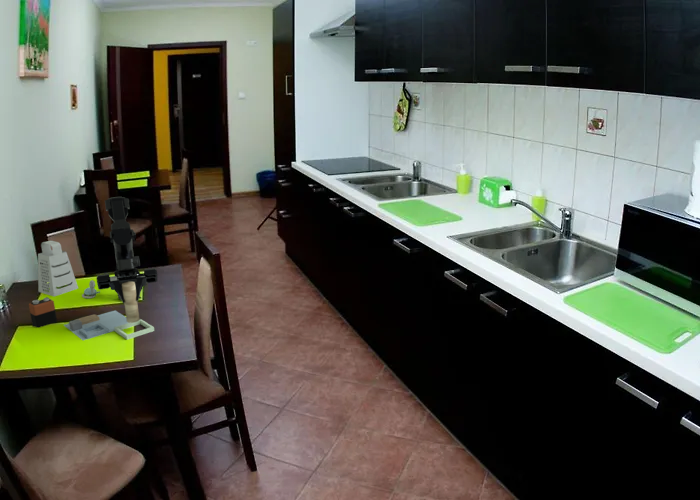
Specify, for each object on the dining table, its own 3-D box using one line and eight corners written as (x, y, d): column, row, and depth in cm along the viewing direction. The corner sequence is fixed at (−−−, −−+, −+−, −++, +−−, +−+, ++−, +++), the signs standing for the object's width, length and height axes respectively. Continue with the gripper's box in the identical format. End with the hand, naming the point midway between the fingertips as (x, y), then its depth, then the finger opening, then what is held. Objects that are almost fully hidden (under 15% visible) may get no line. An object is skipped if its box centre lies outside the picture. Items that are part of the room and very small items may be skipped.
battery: (32, 327, 201) (27, 300, 198) (52, 321, 206) (48, 295, 203) (37, 331, 198) (33, 303, 196) (58, 324, 203) (53, 298, 200)
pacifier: (87, 300, 225) (102, 296, 229) (84, 285, 223) (99, 281, 227) (79, 296, 230) (93, 291, 234) (76, 281, 228) (91, 277, 232)
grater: (54, 296, 229) (45, 247, 223) (38, 291, 235) (30, 243, 229) (78, 288, 238) (70, 241, 232) (62, 283, 243) (55, 237, 237)
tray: (141, 325, 202) (141, 319, 201) (154, 333, 195) (153, 327, 195) (115, 334, 196) (114, 327, 195) (127, 342, 189) (126, 335, 188)
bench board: (115, 313, 212) (114, 303, 211) (136, 327, 201) (135, 317, 200) (64, 328, 200) (62, 318, 199) (83, 343, 189) (81, 333, 188)
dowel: (132, 317, 197) (128, 280, 193) (142, 319, 195) (137, 282, 191) (124, 321, 193) (119, 284, 189) (133, 323, 192) (128, 286, 188)
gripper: (92, 251, 187) (97, 295, 181) (153, 245, 194) (160, 287, 187) (96, 267, 196) (100, 310, 190) (154, 260, 203) (160, 301, 197)
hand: (130, 301), depth 191 cm, fingers closed on dowel, 4 cm apart
